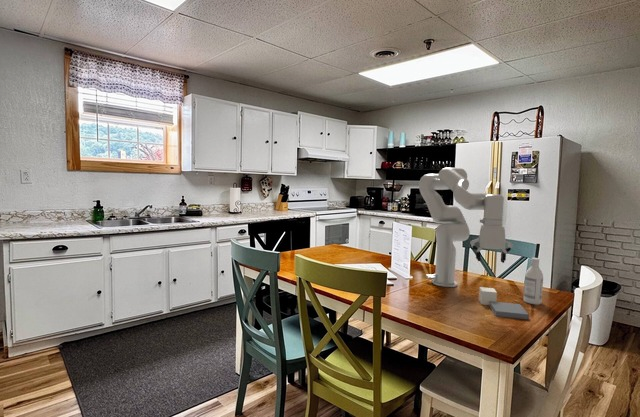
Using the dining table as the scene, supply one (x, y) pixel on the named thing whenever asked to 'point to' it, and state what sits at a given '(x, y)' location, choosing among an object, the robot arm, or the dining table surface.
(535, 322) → the dining table surface
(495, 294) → the block
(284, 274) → the dining table surface
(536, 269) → the bath foam
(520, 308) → the tile
